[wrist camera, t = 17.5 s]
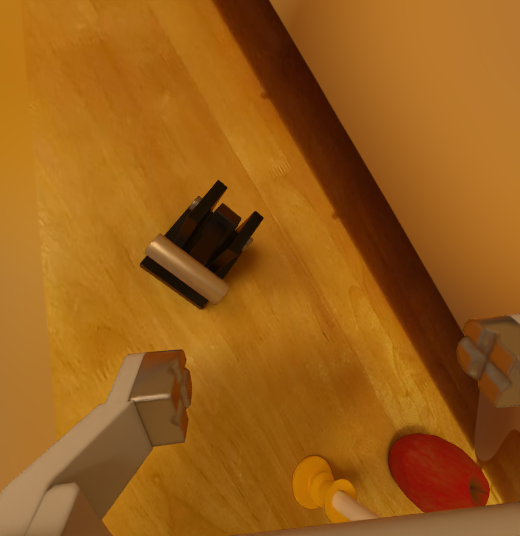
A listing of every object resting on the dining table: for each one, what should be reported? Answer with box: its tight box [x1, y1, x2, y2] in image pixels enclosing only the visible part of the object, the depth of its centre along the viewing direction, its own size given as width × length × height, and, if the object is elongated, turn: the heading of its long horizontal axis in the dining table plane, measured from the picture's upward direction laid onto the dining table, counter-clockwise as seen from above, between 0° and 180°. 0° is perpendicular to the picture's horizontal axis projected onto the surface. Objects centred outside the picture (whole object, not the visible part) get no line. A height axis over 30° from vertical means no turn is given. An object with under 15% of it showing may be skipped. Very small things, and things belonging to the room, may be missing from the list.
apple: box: [389, 433, 490, 513], centre depth 36 cm, size 8×8×11 cm
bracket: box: [140, 180, 263, 309], centre depth 31 cm, size 10×8×12 cm
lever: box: [145, 203, 241, 305], centre depth 23 cm, size 12×5×2 cm
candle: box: [292, 456, 382, 523], centre depth 29 cm, size 5×5×16 cm
